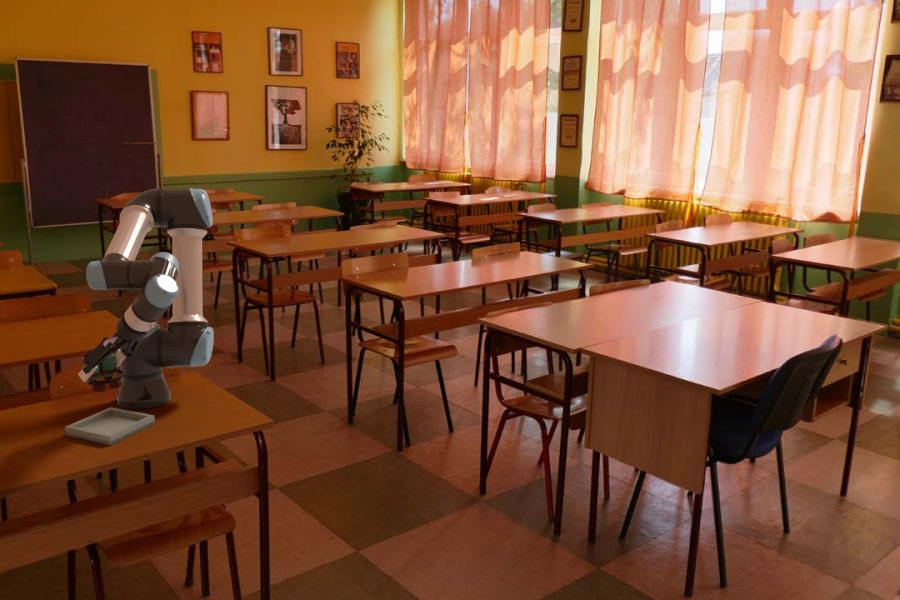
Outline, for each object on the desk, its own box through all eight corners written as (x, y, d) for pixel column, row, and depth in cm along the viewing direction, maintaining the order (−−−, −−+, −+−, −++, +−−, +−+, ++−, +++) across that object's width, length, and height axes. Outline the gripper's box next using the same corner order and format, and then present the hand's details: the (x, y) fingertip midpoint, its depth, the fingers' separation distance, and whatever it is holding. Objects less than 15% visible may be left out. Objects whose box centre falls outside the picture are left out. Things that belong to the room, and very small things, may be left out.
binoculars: (97, 361, 203) (78, 350, 209) (99, 398, 206) (80, 386, 212) (129, 353, 210) (110, 343, 216) (131, 389, 213) (111, 378, 219)
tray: (111, 415, 225) (110, 407, 225) (155, 423, 220) (154, 415, 219) (65, 435, 211) (64, 427, 210) (111, 445, 205) (110, 436, 205)
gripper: (113, 343, 193) (72, 396, 202) (175, 322, 213) (135, 371, 222) (95, 320, 194) (54, 373, 203) (158, 302, 213) (119, 351, 223)
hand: (96, 372), depth 213 cm, fingers closed on binoculars, 9 cm apart
